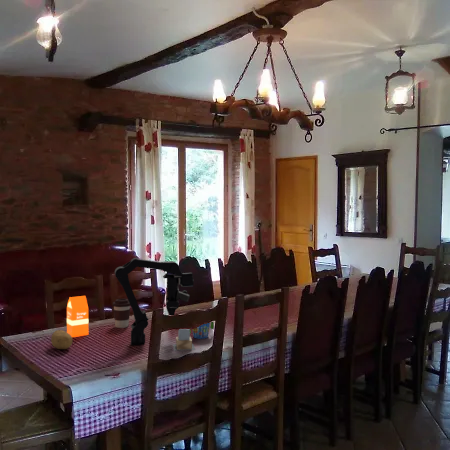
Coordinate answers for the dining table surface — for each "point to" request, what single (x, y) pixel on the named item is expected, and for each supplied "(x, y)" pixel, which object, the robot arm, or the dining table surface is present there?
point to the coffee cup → (121, 313)
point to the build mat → (183, 349)
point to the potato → (61, 339)
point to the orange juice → (77, 316)
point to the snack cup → (202, 331)
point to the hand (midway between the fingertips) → (171, 317)
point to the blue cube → (184, 334)
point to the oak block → (183, 344)
